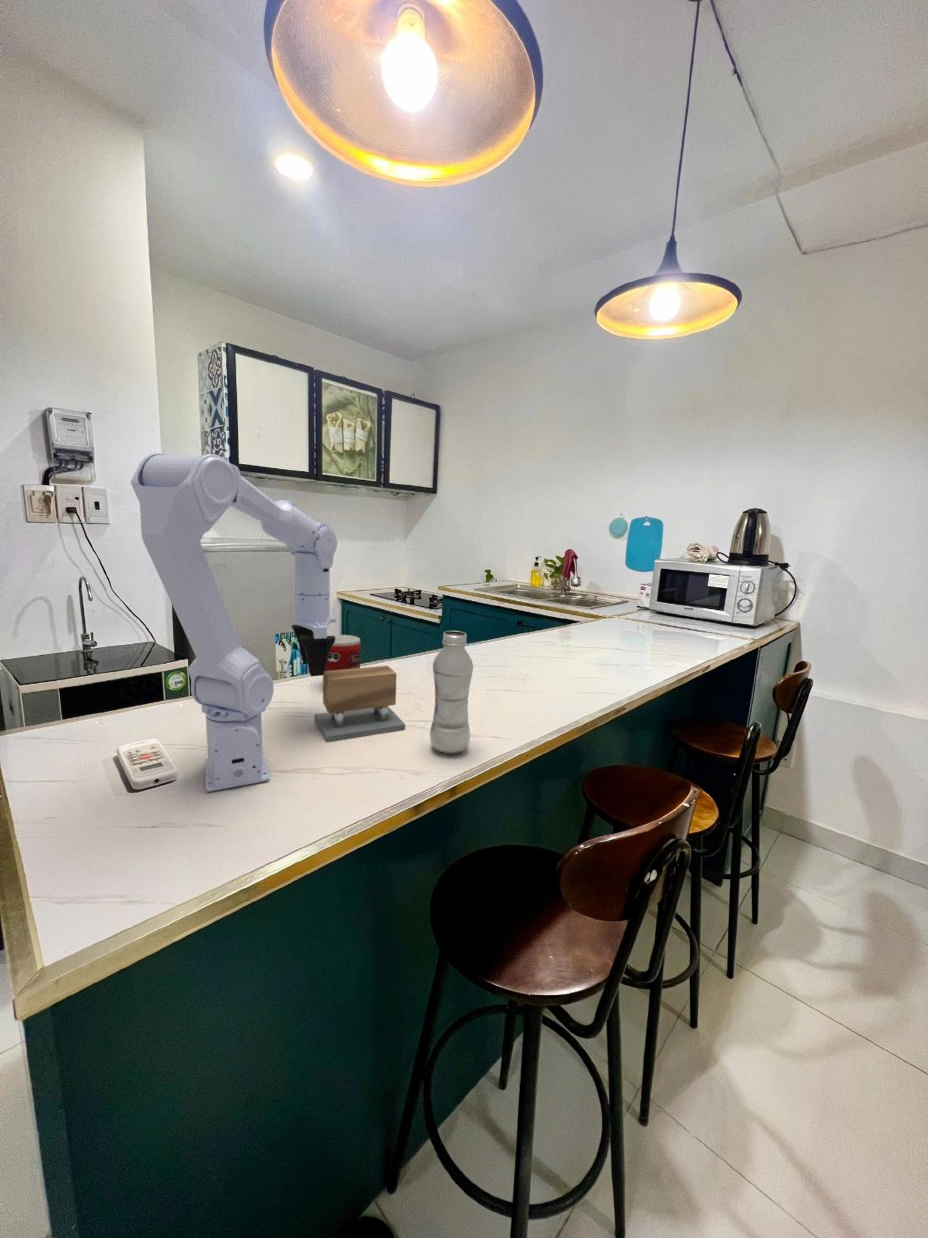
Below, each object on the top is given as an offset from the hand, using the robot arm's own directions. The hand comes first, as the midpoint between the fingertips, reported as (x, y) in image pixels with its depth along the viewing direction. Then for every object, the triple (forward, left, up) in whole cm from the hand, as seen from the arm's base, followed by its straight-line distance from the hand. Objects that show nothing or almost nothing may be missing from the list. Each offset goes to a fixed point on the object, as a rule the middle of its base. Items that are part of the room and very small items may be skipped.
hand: (312, 668), depth 87 cm
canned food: (+18, -10, -11) cm, 23 cm away
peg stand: (-3, -8, -10) cm, 13 cm away
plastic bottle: (-18, -19, -11) cm, 28 cm away
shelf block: (-3, -8, -6) cm, 10 cm away
